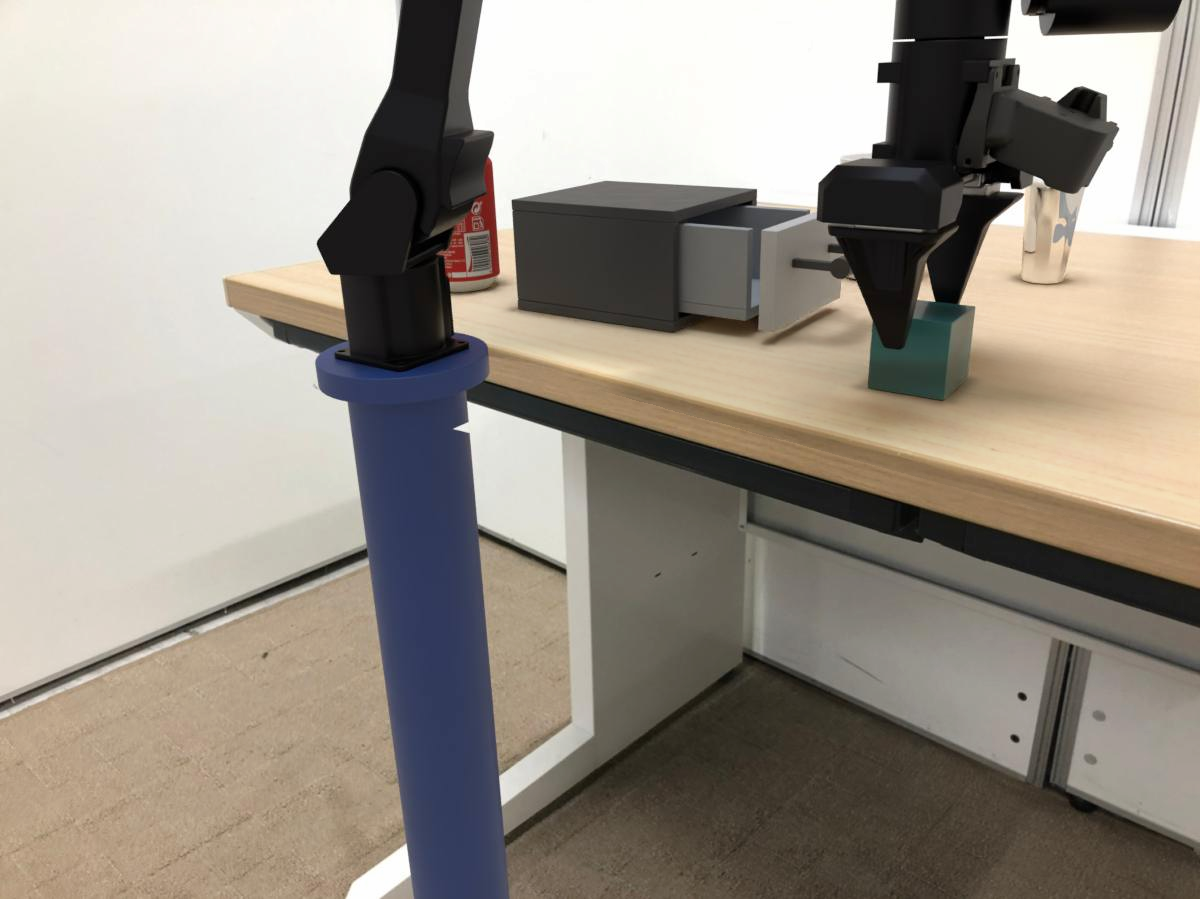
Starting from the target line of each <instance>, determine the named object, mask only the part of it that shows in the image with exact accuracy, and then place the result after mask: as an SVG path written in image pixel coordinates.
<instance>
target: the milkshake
mask: <svg viewBox="0 0 1200 899" xmlns="http://www.w3.org/2000/svg"><path fill="white" fill-rule="evenodd" d="M1085 190H1086V188H1085V187H1082V188H1081V189H1080V190H1079V192H1078V193H1075V194H1069V193H1064V192H1061V191H1058V190H1055V189H1053V188H1050V187H1048V186H1046V185H1045V184H1044V181H1043V180H1042V179H1040V178H1037V177H1035V176H1033V184H1032V185H1030V186H1028V187H1026V188H1024V201H1023V202H1024V205H1023V206H1024V207H1023V232H1022V234H1023V236H1022V254H1021V271H1020V272H1021V273H1020V278H1021V280H1022V281H1024V282H1027V283H1032V284H1040V285H1041V284H1042V285H1049V284H1059V283H1062V282H1063V281H1064V279H1065V276H1066V275H1065V274H1066V271H1067V265H1068V262H1069V258H1070V252H1071V247H1072V244H1073V240H1074V234H1075V230H1076V226H1077V221H1078V217H1079V215H1080V214H1079V213H1080V209H1081V205H1082V202H1083V198H1084V194H1085Z"/></svg>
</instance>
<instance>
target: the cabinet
mask: <svg viewBox="0 0 1200 899" xmlns="http://www.w3.org/2000/svg"><path fill="white" fill-rule="evenodd" d="M734 205H749V206H758V189H757V188H749V187H730V186H729V187H726V186H711V185H710V186H709V185H695V184H694V185H693V184H675V183H674V184H673V183H654V182H638V181H636V182H635V181H617V180H602V181H598V182H597V181H596V182H592V183H588V184H582V185H577V186H573V187H572V186H571V187H567V188H563V189H557V190H553V191H548V192H543V193H542V192H541V193H538V194H533V195H528V196H524V197H517V198H512V199H511V213H512V214H511V215H512V230H513V231H512V232H513V243H514V244H513V245H514V259H515V260H514V262H515V276H516V277H515V278H516V294H517V307H518V310H522V311H530V312H534V313H535V312H536V313H543V314H549V315H556V316H561V317H569V318H575V319H581V320H589V321H596V322H603V323H609V324H616V325H622V326H629V327H636V328H642V329H649V330H656V331H662V332H669V333H675V332H678V331H679V330H682V329H684V328H686V327H689V326H691V325H693V324H696V323H697V322H700V321H702V320H704V319H707V318H709V317H710V316H706V315H699V314H692V313H685V312H679V222H678V221H681V220H685V219H688V218H692V217H695V216H699V215H702V214H706V213H710V212H713V211H717V210H720V209H724V208H727V207H731V206H734Z"/></svg>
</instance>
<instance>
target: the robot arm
mask: <svg viewBox="0 0 1200 899" xmlns="http://www.w3.org/2000/svg"><path fill="white" fill-rule="evenodd" d="M1182 2H1183V0H1020V10H1021V14H1022V16H1029V17H1038V25H1039V31H1040V33H1041V35H1042V36H1043V37H1052V36H1054V37H1055V36H1057V37H1058V36H1080V35H1085V36H1086V35H1110V34H1111V35H1114V34H1116V35H1117V34H1141V33H1142V34H1145V33H1146V34H1147V33H1163V32H1165V31H1166V30H1167V29H1168V28H1169V27H1170V26H1171V24H1172V23H1173V22H1174V21H1175V18H1176V16H1177V14H1178V12H1179V10H1180V7H1181V5H1182ZM483 3H484V0H401V1H400V9H399V18H398V25H397V32H396V40H395V49H394V56H393V65H392V72H391V78H390V80H389V85H388V87H387V89H386V91H385V93H384V95H383V97H382V99H381V101H380V103H379V105H378V106H377V108H376V110H375V113H374V114H373V116H372V118H371V120H370V122H369V124H368V126H367V128H366V129H365V132H364V134H363V136H362V141H361V144H360V148H359V151H358V154H357V158H356V162H355V165H354V168H353V171H352V175H351V177H350V183H349V188H348V190H349V191H348V192H349V200H348V202H346V203H345V205H344V206H343V208H342V209H341V210H340V211H339V213H338V214H337V215H336V217H335V218H334V219H333V220H332V221H331V223H330V224H329V225H328V226H327V227H326V229H325V230H324V231H323V232H322V233H321V235H320V237H319V238H318V239H317V241H316V248H317V249H318V252H319V254H320V256H321V258H322V260H323V262H324V265H325V267H326V269H327V271H328V273H329V274H330V275H331V276H339V281H340V288H341V295H342V303H343V304H342V305H343V311H344V318H345V326H346V333H347V341H348V343H349V347H345V348H342V349H339V350H336V351H334V357H335V359H338V360H343V361H347V362H352V363H357V364H361V365H366V366H371V367H375V368H380V369H385V370H389V371H394V372H405V371H409V370H411V369H414V368H417V367H420V366H422V365H425V364H428V363H431V362H434V361H436V360H439V359H442V358H445V357H447V356H450V355H453V354H456V353H459V352H461V351H464V350H467V349H469V342H468V341H465V340H460V339H454V338H451V337H452V336H453V335H454V332H455V327H454V314H453V305H452V292H450V281H449V277H448V276H447V275H446V271H445V260H444V255H437V253H439V252H441V251H446V250H448V249H449V247H450V243H451V240H452V236H453V232H454V228H455V225H456V224H458V223H459V222H461V221H462V220H463V219H464V218H466V217H467V215H468V214H469V212H470V211H471V209H472V207H473V204H474V201H475V199H477V198H480V197H482V196H484V195H486V193H487V192H486V186H485V181H484V176H485V166H486V162H487V159H488V157H489V156H490V153H491V150H492V147H493V144H494V139H495V132H494V131H493V130H488V129H487V130H485V129H475V128H474V122H473V116H472V111H471V104H470V99H469V98H470V96H469V94H470V92H469V90H470V84H471V77H472V71H473V66H474V59H475V51H476V48H477V47H476V46H477V41H478V33H479V27H480V20H481V14H482V8H483ZM1012 4H1013V0H895V5H894V6H895V7H894V21H893V35H892V36H893V37H892V40H893V41H892V45H891V60H890V61H884V62H877V76H876V84H889V87H888V100H887V115H886V126H885V140H883V141H880V142H876V143H872V145H871V146H872V147H871V152H872V159H871V158H861V159H858V160H854V161H850V162H846V163H842V164H840V163H839V164H836V165H835V166H834V167H833V168H832V169H831V170H830V171H829V172H828V173H827V174H825V176H824V177H822V179H821V180H820V181H819V182H818V186H817V200H816V201H817V202H816V203H817V205H816V212H817V221H820V222H822V223H831V224H828V232H829V235H830V236H835V237H836V239H837V242H838V244H839V246H840V248H841V250H842V252H843V254H844V256H845V258H846V260H847V262H848V264H849V267H850V269H851V271H852V273H853V275H854V277H855V279H854V280H855V282H856V284H857V287H858V290H859V291H860V293H861V296H862V298H863V301H864V304H865V306H866V308H867V311H868V313H869V316H870V318H871V320H872V322H873V323H874V325H875V328H876V330H877V333H878V335H879V338H880V340H881V343H882V345H883V346H884V347H885V348H888V349H895V350H901V349H902V348H904V347H905V344H906V341H907V337H908V334H909V330H910V326H911V323H912V319H913V315H914V311H915V307H916V302H917V300H918V297H919V294H920V289H921V286H922V281H923V277H924V274H925V268H927V272H928V273H927V274H928V278H929V283H930V288H931V291H932V295H933V299H934V302H941V303H950V304H959V305H961V301H962V299H963V296H964V294H965V291H966V288H967V286H968V282H969V280H970V278H971V275H972V272H973V269H974V267H975V264H976V261H977V259H978V257H979V253H980V251H981V249H982V245H983V243H984V241H985V238H986V236H987V233H988V231H989V229H990V227H991V225H992V223H993V222H994V221H995V220H996V219H997V218H998V217H1000V216H1001V215H1002V214H1004V213H1005V212H1006V211H1007V210H1009V209H1010V208H1012V207H1013V206H1014V205H1015V204H1017V203H1018V202H1019V201H1021V200H1022V199H1023V198H1024V197H1025V192H1019V191H1018V192H1017V191H1002V190H1001V186H1002V184H1009V185H1010V189H1011V190H1020V191H1021V190H1025V188H1026V187H1028V186H1030V185H1032V184H1033V176H1035V177H1037V178H1040V179H1042V180H1043V181H1044V184H1045V185H1046V186H1048V187H1050V188H1053V189H1055V190H1058V191H1061V192H1064V193H1069V194H1075V193H1078V192H1079V190H1080V189H1081V188H1082V187H1085V189H1086V188H1088V187H1089V186H1090V184H1091V183H1092V181H1093V179H1094V177H1095V175H1096V173H1097V172H1098V169H1099V168H1100V166H1101V164H1102V162H1103V160H1104V159H1105V157H1106V155H1107V153H1108V152H1109V151H1111V150H1112V148H1113V147H1114V140H1115V139H1116V136H1117V135H1118V133H1119V131H1120V127H1119V126H1118V123H1117V122H1115V121H1112V120H1109V121H1107V120H1108V119H1107V118H1108V94H1106V93H1102V92H1100V91H1097V90H1094V89H1092V88H1089V87H1086V86H1084V85H1080V86H1076V87H1073V88H1072V89H1071V90H1070V91H1068V92H1067V93H1066V94H1065V95H1063V96H1062V97H1061V98H1060V99H1059V100H1058V101H1054V100H1053V99H1052V97H1049V96H1047V95H1043V96H1039V95H1037V94H1033V93H1031V92H1028V91H1025V90H1023V89H1020V88H1019V82H1020V74H1021V64H1018V63H1017V64H1016V61H1017V60H1016V59H1017V58H1016V57H1007V56H1006V55H1007V48H1008V39H1009V38H1008V36H1009V30H1010V20H1011V12H1012ZM992 37H994V38H992ZM995 37H996V38H995ZM998 37H999V38H998ZM900 40H901V41H900ZM903 40H904V41H903ZM905 40H906V41H905ZM907 40H908V41H907Z"/></svg>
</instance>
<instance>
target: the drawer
mask: <svg viewBox="0 0 1200 899" xmlns="http://www.w3.org/2000/svg"><path fill="white" fill-rule="evenodd" d="M678 222H679V312H685V313H692V314H699V315H706V316H709V317H713V318H720V319H721V318H723V319H730V320H735V321H744V322H746V321H749V320H750V319H753V318H755V317H757V316H758V323H757V324H758V326H757V327H758V328H757V329H758V331H763V332H771V333H774V332H776V331H778V330H781V329H782V328H785V327H786V326H789V325H790V324H792V323H794V322H796V321H798V320H800V319H802V318H804V317H806V316H808V315H809V314H811V313H813V312H815V311H817V310H819V309H821V308H824V307H825V306H827V305H829V304H831V303H833V302H835V301H837V300H839V299H840V298H841V292H842V291H841V290H842V280H843V279H846V278H849V277H848V276H850V275H852V274H853V273H852V271H851V269H850V267H849V264H848V262H847V260H846V258H845V256H844V255H843V252H842V250H841V248H840V246H839V244H838V242H837V239H836V237H835V236H830V235H829V232H828V224H831V223H822V222H820V221H817V211H815V212H811V209H809V208H794V207H793V208H792V207H779V206H778V207H775V206H764V205H757V206H749V205H734V206H731V207H727V208H724V209H720V210H717V211H713V212H710V213H706V214H702V215H699V216H695V217H692V218H688V219H685V220H681V221H678Z"/></svg>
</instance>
